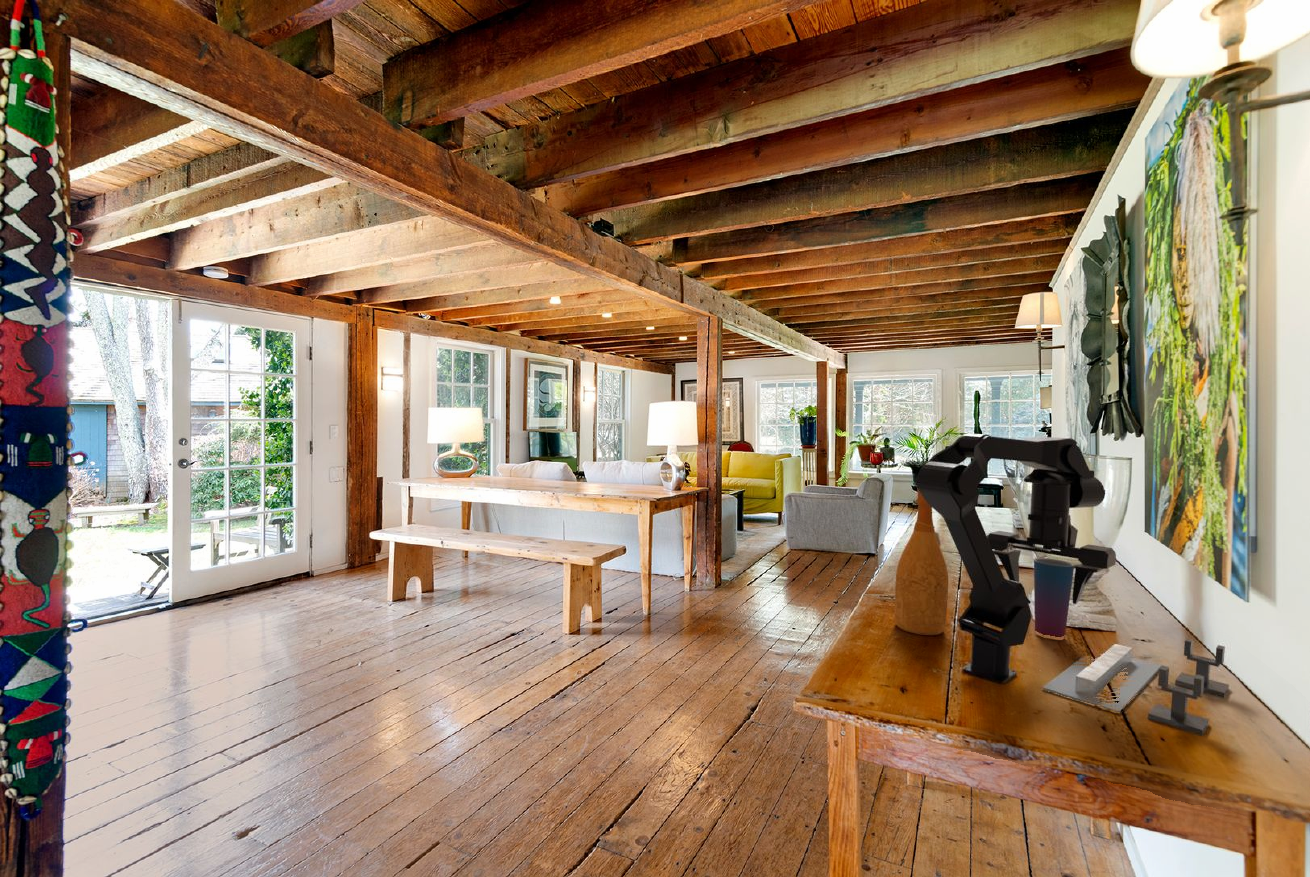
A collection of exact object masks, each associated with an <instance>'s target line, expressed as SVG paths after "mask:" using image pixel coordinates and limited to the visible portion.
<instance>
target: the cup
mask: <svg viewBox="0 0 1310 877" xmlns="http://www.w3.org/2000/svg"><path fill="white" fill-rule="evenodd" d="M1074 573H1075V564H1074V563H1073V562H1070V561H1067V560H1062V559H1057V558H1050V557H1049V558H1048V557H1043V558H1042V557H1039V558H1038V557H1037V558H1034V559H1033V580H1034V581H1033V586H1034V587H1033V588H1034V589H1033V590H1034V591H1033V592H1034V597H1033V598H1034V632H1035V631H1037V632H1039V633H1041V634H1043V635H1050V636H1055V637H1062V636H1064V635H1065V636H1066V630H1067V624H1068V622H1067V621H1068V617H1069V610H1070V609H1069V608H1070V607H1069V606H1070V601H1071V600H1070V599H1071V593H1072V588H1073V587H1072V585H1073V579H1074V578H1073V577H1074Z"/></svg>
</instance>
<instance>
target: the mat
mask: <svg viewBox="0 0 1310 877" xmlns="http://www.w3.org/2000/svg"><path fill="white" fill-rule="evenodd" d="M1100 655H1102V654H1100ZM1096 659H1097V658H1095V659H1093V658H1092V659H1091V660H1096ZM1078 660H1086V659H1085V658H1084V659H1082V657H1080V658H1079V659H1078ZM1078 660H1077V661H1074V663H1073V664H1074V665H1073V664H1071V665H1070V666H1069V667H1068V668H1066V669H1064V670H1063V671H1062V672H1061V673H1059V674H1058V675H1057V676H1055V678H1054V677H1053V679H1052V680H1050V681H1049V682H1048V683H1046V684H1045V685H1043V687H1042V690H1043V689H1044V690H1046V691H1050V692H1052V693H1057V694H1059V695H1062V696H1065V697H1070V698H1072V699H1074V700H1078V701H1083V702H1087V703H1091V704H1094V705H1100V706H1102V707H1104V708H1107V709H1112V710H1115V711H1117V712H1120V711H1121V710H1122V709H1123V708H1124V707H1125V705H1127V703H1128V702H1129V701H1130V700H1131V699H1132V698H1133V697H1134V696H1135V695H1136V694H1137V693H1138V694H1139V693H1141V691H1142V690H1143V689H1144V688H1145V687H1146V686H1147V685H1148V683H1149V682H1151V680H1152V679H1153V678H1154V677H1155V676H1156V675H1157V674H1158V673H1159V668H1160V667H1161V666H1162V665H1161V664H1158V663H1154V662H1149V661H1146V660H1143V659H1139V658H1134V657H1132V662H1131V663H1130V664H1129V665H1128V666H1127V667H1125V668H1127V669H1124V670H1123V671H1121V672H1128V674H1126V673H1125V674H1124V676H1132V677H1128V679H1126V678H1125V679H1123V680H1132V681H1128V682H1125V683H1123V684H1120V685H1128V686H1122V687H1121V686H1120V688H1112V689H1120V691H1119V690H1117V691H1116V692H1115V691H1114V692H1107V693H1120V695H1119V694H1118V695H1116V696H1111V697H1119V698H1116V699H1112V700H1104V699H1103V700H1102V699H1101V700H1100V699H1098V698H1096V697H1106V696H1100V695H1096V696H1095V698H1094V697H1091V696H1088V695H1085V694H1081V693H1078V692H1075V682H1076V675H1078V674H1079V673H1080V672H1081V671H1082V670H1084V669H1085V668H1086V667H1087V666H1083V665H1079V664H1086V663H1084V662H1080V661H1078ZM1087 660H1090V659H1088V658H1087ZM1075 664H1078V666H1077V665H1075ZM1087 664H1089V663H1087ZM1120 676H1121V675H1120ZM1122 676H1123V675H1122ZM1144 686H1145V687H1144ZM1103 689H1104V688H1103ZM1141 689H1142V690H1141ZM1140 690H1141V691H1140ZM1046 691H1045V692H1046ZM1052 693H1051V694H1052ZM1099 693H1106V692H1102V691H1101V692H1099ZM1059 695H1058V696H1059ZM1062 696H1061V697H1062ZM1065 697H1064V698H1065ZM1107 697H1108V696H1107ZM1109 697H1110V696H1109ZM1074 700H1073V701H1074ZM1098 701H1120V702H1118V703H1117V702H1116V703H1105V702H1104V703H1103V702H1098ZM1111 705H1112V706H1111ZM1115 705H1116V706H1115Z"/></svg>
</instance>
